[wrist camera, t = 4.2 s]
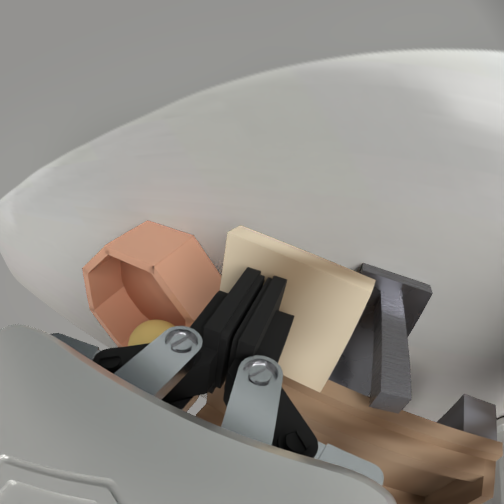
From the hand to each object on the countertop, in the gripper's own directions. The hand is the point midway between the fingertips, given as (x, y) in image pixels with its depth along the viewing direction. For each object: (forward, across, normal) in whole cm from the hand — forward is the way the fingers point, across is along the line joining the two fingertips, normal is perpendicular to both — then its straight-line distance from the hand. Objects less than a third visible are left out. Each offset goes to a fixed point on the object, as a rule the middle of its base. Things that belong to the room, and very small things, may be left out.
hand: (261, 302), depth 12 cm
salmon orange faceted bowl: (+8, +9, +8) cm, 15 cm away
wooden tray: (+3, -8, +5) cm, 10 cm away
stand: (+8, -7, +8) cm, 13 cm away
